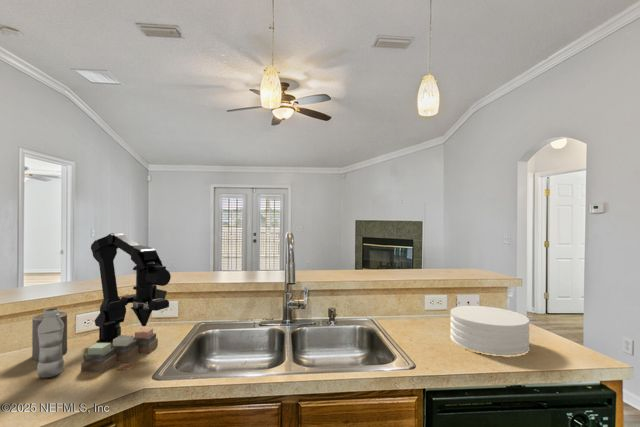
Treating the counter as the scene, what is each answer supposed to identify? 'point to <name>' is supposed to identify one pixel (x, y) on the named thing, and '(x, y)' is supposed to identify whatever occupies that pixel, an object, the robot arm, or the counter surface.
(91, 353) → the sage button
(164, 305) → the robot arm
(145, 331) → the terracotta button
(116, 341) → the cream button
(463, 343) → the plate stack
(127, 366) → the button panel
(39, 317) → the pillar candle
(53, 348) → the plastic bottle
